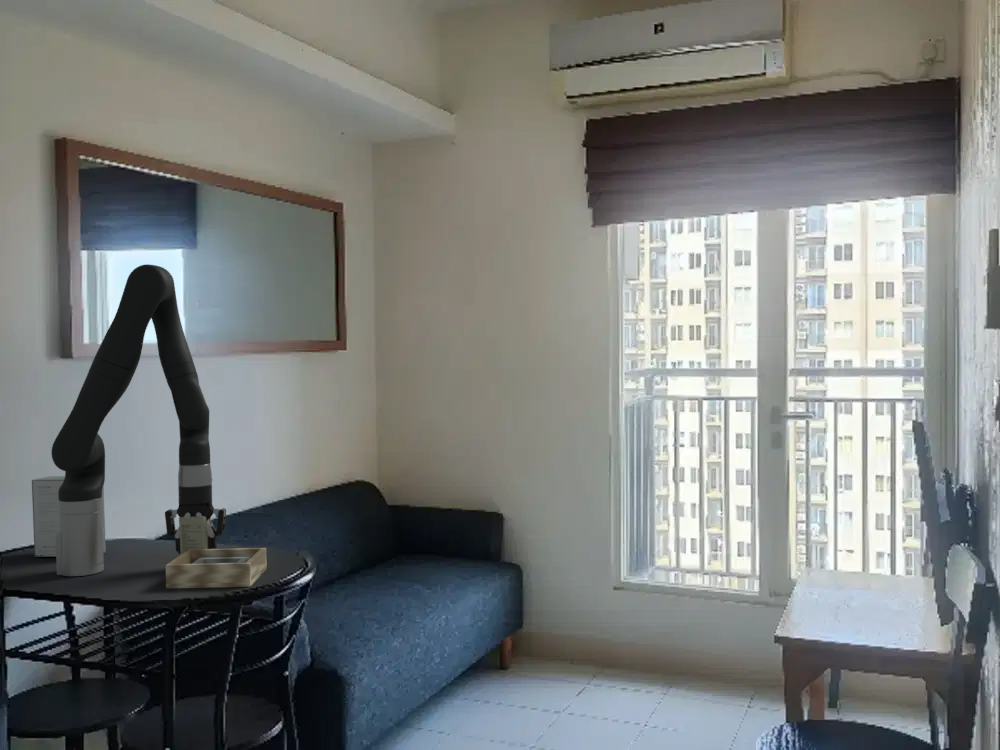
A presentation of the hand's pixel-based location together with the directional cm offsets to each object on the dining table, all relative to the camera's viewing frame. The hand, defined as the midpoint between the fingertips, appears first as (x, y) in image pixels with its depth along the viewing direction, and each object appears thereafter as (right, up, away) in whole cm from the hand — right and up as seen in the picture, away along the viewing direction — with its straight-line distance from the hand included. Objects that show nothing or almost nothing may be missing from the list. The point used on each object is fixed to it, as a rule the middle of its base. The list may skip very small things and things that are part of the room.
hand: (196, 552), depth 216 cm
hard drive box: (-37, -4, +16) cm, 41 cm away
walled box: (+8, -4, -11) cm, 14 cm away
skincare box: (0, -3, 0) cm, 3 cm away
